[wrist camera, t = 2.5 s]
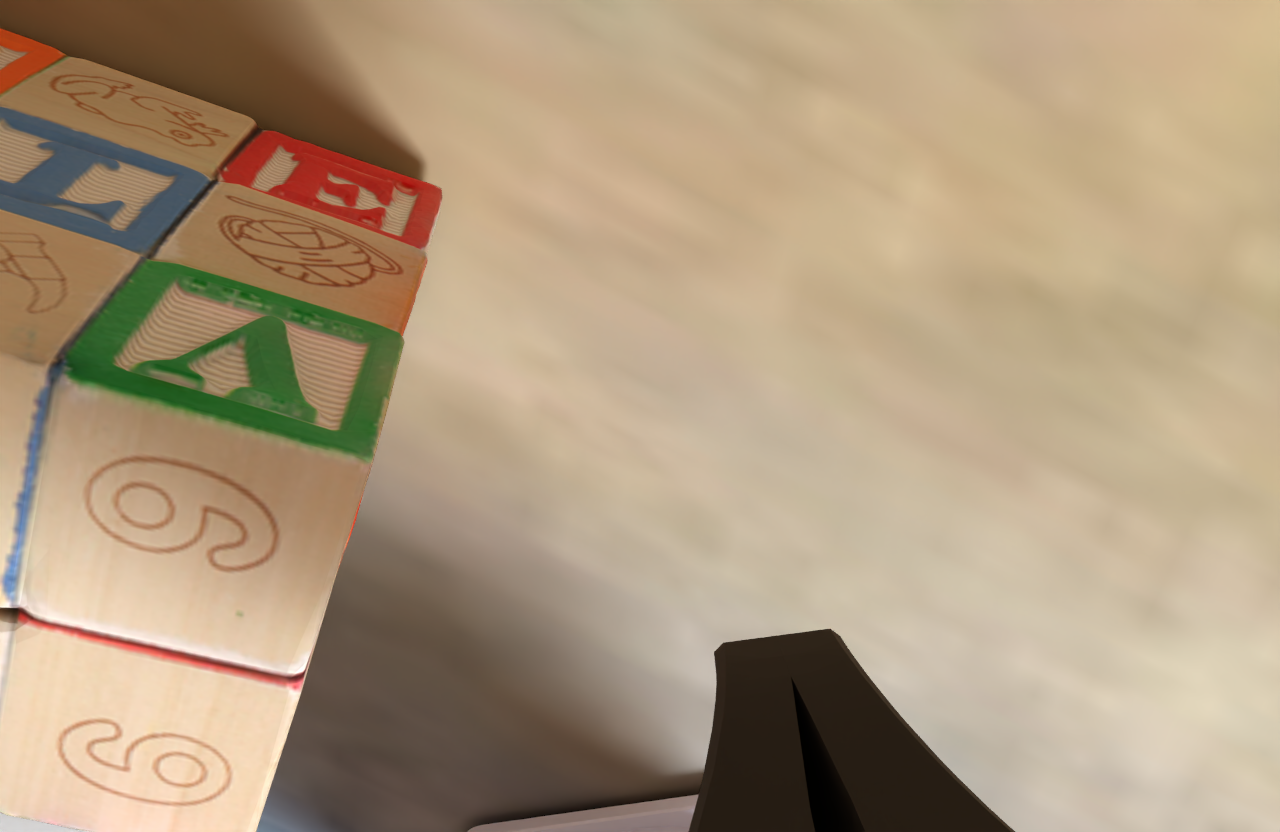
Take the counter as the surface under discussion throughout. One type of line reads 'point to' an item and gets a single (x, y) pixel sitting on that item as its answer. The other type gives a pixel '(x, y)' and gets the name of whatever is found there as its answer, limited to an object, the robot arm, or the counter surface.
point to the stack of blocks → (177, 434)
